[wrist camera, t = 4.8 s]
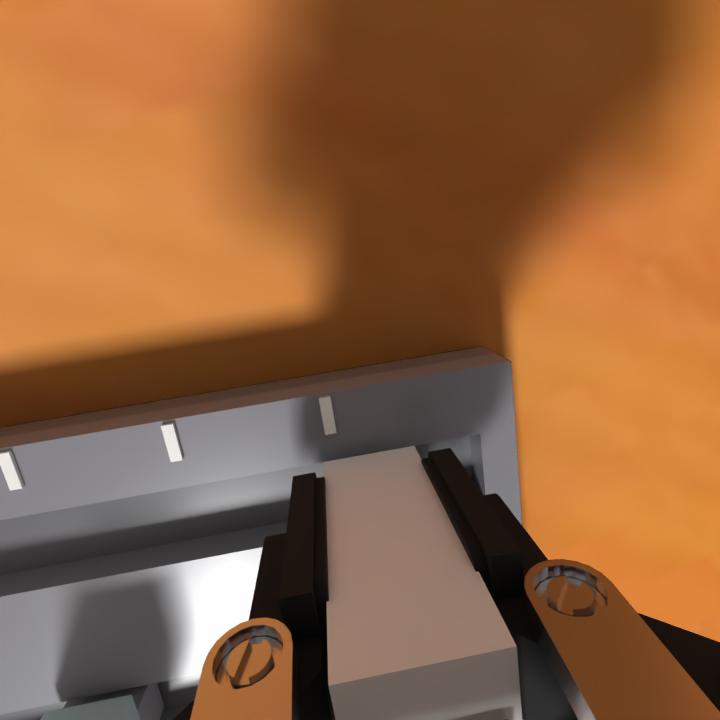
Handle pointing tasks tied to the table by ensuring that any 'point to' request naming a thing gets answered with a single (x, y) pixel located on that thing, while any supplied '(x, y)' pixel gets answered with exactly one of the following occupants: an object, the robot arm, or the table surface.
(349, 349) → the table surface
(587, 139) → the table surface
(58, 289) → the table surface
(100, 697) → the fader teal
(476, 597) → the block
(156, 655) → the console
